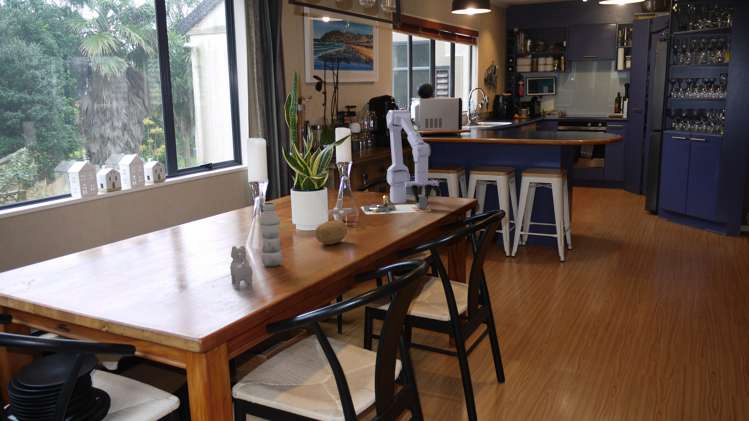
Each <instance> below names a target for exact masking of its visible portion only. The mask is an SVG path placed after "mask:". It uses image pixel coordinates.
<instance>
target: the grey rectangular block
mask: <svg viewBox="0 0 749 421" xmlns="http://www.w3.org/2000/svg"><path fill="white" fill-rule="evenodd" d="M415 204H416V206H417V207H418V208H427V207H428V201H427V196H425V193H424V194H418V203H416V202H415Z"/></svg>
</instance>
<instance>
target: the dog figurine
mask: <svg viewBox="0 0 749 421" xmlns="http://www.w3.org/2000/svg"><path fill="white" fill-rule="evenodd" d="M245 247H246V246H244V245H240V246H239V247H237V246H236V245H235V246H231V251H230V257H231V258H232V261H231V263H230V268H229V269H230V277H231V284H233V285H235V289H234V290H235V291H240V287H241V285H240V284H241V282H242V281H243V282H245V283H248V287H247V289H253V287H254V286H253V268H252V266H251V265H250V262H249V261H248V260H247V252H246V248H245Z"/></svg>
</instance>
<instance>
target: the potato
mask: <svg viewBox="0 0 749 421" xmlns="http://www.w3.org/2000/svg"><path fill="white" fill-rule="evenodd" d="M347 234H348V227H347V225H346V223H345V222H344V221H343V220H342V221H340V220H338V219H335V220H331V221H330V220H329V221H325V222H323V223H321V224H320V225H318V226H316V228H315V230H314V236H315V239H316V240H318V242H320V243H322V244H324V245H326V246H329V245H332V246H333V245H334V244H337V243H339V242H341V241H343V240H344V239H345V237H346V236H347Z"/></svg>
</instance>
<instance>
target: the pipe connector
mask: <svg viewBox="0 0 749 421" xmlns="http://www.w3.org/2000/svg"><path fill="white" fill-rule="evenodd" d="M336 200H337V202H336V203H337V204H336V205H337V207H333V209H329V210H327V215H337V220H340V221H343V217H345V216H347V213H349V214H350V213H352V211H353V209H352V207H347V208H346V207H345V208H343V199H341V198H339V199H336Z"/></svg>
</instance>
